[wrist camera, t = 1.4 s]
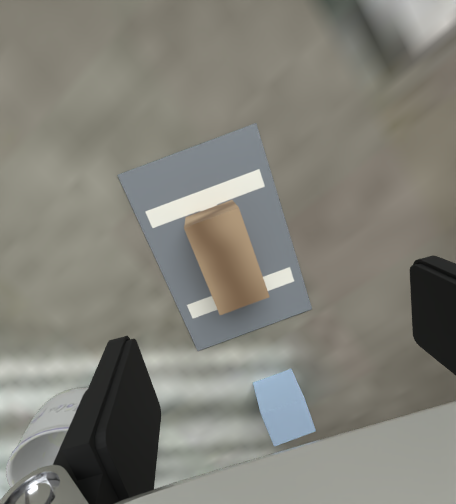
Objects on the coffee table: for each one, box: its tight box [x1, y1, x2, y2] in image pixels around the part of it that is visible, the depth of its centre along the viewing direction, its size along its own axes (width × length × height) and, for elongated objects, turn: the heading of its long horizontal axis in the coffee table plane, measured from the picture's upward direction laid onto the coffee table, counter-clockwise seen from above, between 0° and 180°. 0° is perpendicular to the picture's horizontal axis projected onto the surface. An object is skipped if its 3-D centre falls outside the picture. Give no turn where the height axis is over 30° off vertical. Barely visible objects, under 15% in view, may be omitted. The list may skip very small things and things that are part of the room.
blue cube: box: [253, 369, 316, 446], centre depth 37 cm, size 5×5×5 cm
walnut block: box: [184, 200, 270, 315], centre depth 31 cm, size 5×9×5 cm, turn 20°
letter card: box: [118, 123, 312, 351], centre depth 33 cm, size 14×21×1 cm, turn 20°
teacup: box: [6, 387, 88, 487], centre depth 34 cm, size 14×11×8 cm
